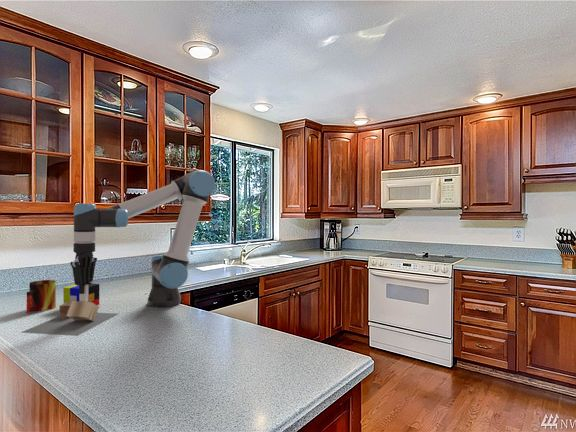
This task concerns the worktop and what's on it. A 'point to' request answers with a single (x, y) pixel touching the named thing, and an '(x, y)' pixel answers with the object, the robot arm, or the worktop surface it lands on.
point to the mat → (69, 325)
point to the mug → (41, 295)
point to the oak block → (82, 311)
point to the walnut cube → (64, 309)
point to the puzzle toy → (73, 294)
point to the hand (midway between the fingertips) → (83, 301)
